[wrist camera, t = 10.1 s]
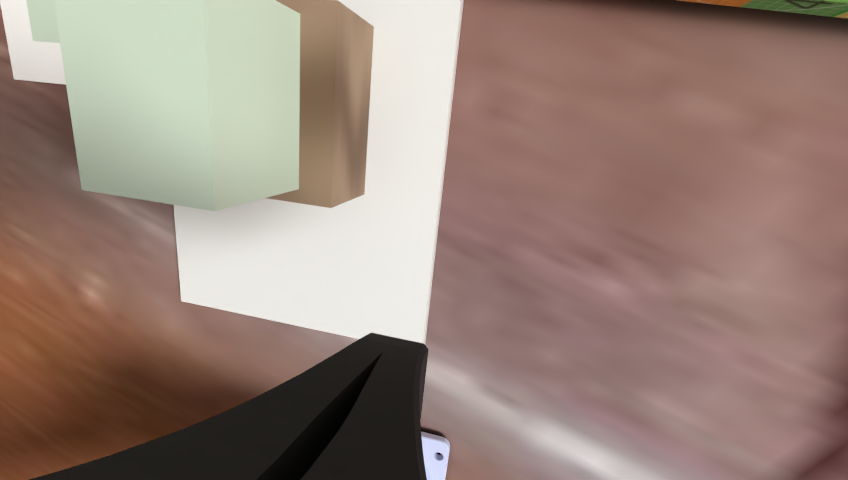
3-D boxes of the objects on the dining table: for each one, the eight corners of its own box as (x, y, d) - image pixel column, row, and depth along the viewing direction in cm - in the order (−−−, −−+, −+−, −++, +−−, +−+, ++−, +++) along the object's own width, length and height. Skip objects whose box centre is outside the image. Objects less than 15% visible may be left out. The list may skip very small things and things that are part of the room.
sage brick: (298, 189, 15) (214, 211, 11) (197, 174, 16) (81, 189, 12) (300, 13, 14) (200, -41, 9) (186, 7, 14) (47, -44, 10)
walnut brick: (364, 194, 18) (331, 208, 15) (230, 175, 20) (173, 184, 16) (374, 26, 16) (338, 0, 13) (224, 18, 18) (158, -8, 14)
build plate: (424, 346, 20) (422, 352, 20) (189, 296, 23) (181, 300, 22) (470, -65, 15) (469, -73, 15) (162, -69, 18) (151, -75, 17)
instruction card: (174, 95, 20) (169, 95, 20) (18, 79, 22) (11, 79, 22) (160, -96, 18) (154, -99, 17) (-13, -95, 20) (-21, -99, 19)
